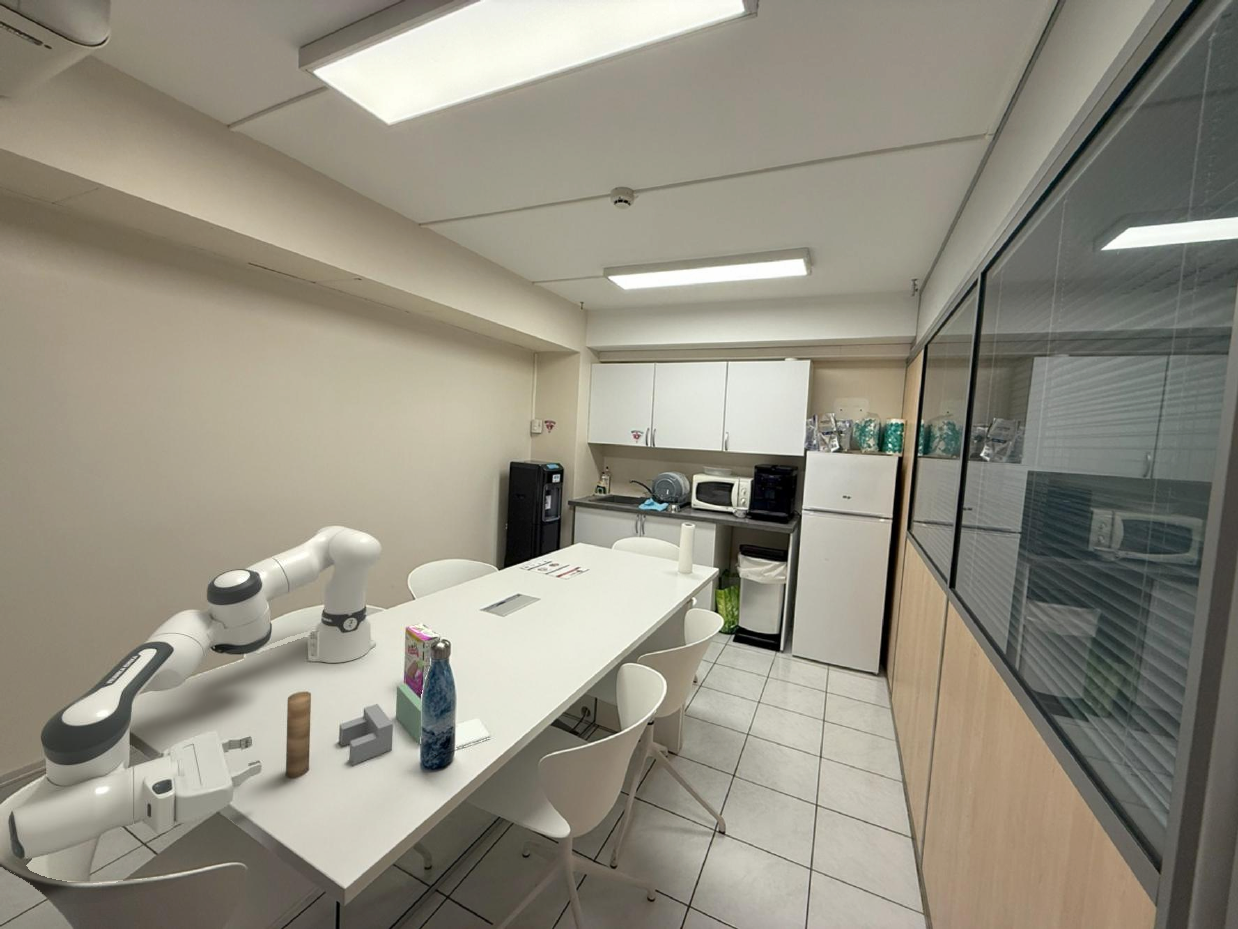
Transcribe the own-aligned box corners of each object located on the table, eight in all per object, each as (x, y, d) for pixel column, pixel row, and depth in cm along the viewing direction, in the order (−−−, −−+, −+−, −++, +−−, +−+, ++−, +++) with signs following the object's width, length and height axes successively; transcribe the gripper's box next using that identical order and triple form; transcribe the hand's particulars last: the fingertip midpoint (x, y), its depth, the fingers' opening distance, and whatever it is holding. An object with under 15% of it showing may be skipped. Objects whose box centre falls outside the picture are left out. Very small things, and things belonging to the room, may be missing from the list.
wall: (395, 716, 121) (397, 685, 120) (404, 713, 122) (405, 683, 122) (418, 744, 111) (420, 711, 110) (427, 741, 112) (428, 708, 112)
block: (339, 741, 110) (339, 716, 110) (376, 727, 116) (377, 703, 115) (352, 764, 103) (353, 737, 103) (391, 749, 109) (392, 723, 108)
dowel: (283, 770, 100) (285, 695, 99) (306, 762, 103) (308, 689, 102) (288, 781, 98) (289, 704, 96) (311, 772, 100) (313, 697, 99)
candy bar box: (402, 683, 136) (404, 626, 135) (419, 677, 140) (421, 622, 139) (421, 700, 129) (423, 640, 128) (438, 693, 132) (441, 635, 131)
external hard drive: (489, 741, 115) (435, 759, 108) (477, 723, 121) (425, 738, 114) (490, 735, 115) (436, 752, 107) (478, 717, 121) (426, 732, 114)
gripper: (154, 770, 91) (246, 741, 101) (160, 841, 77) (266, 799, 87) (154, 738, 91) (246, 712, 101) (160, 804, 77) (267, 765, 87)
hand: (256, 752), depth 94 cm, fingers open, 8 cm apart
